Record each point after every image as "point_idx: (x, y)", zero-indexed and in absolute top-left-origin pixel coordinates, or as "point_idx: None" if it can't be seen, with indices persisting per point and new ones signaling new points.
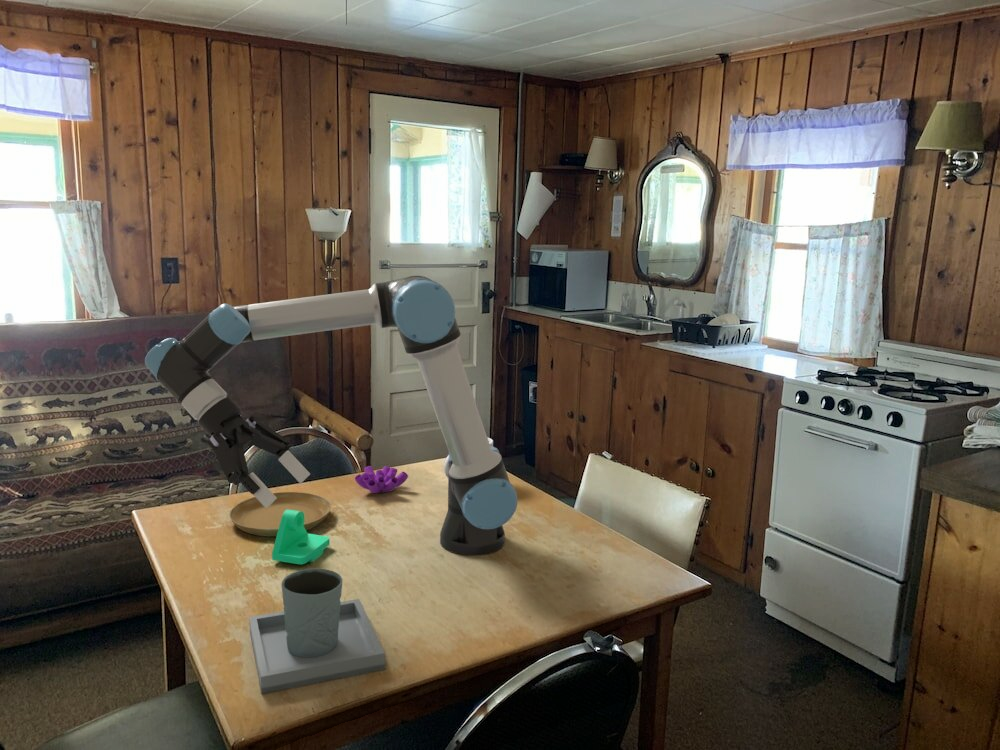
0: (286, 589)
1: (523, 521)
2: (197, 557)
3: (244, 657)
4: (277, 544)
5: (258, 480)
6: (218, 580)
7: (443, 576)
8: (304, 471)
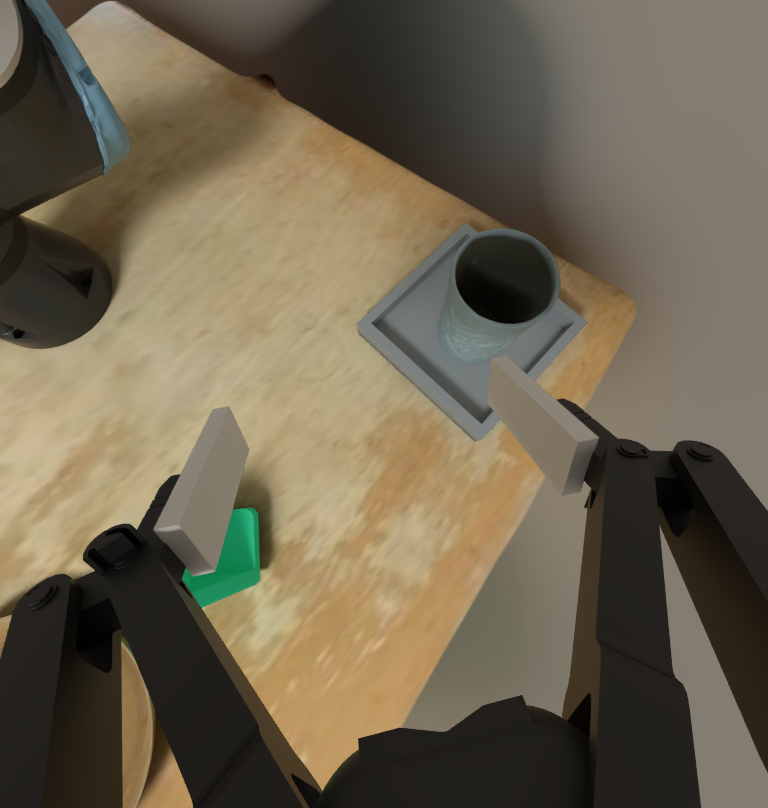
0: (556, 295)
1: None
2: (298, 755)
3: None
4: (237, 583)
5: (556, 408)
6: (363, 622)
7: (200, 281)
8: (224, 423)
